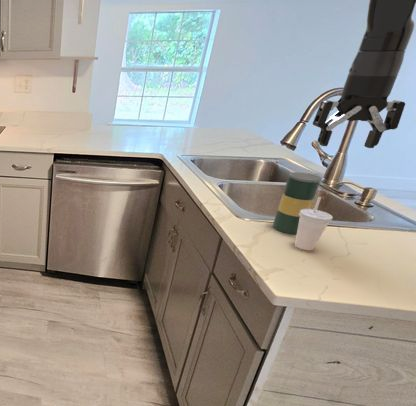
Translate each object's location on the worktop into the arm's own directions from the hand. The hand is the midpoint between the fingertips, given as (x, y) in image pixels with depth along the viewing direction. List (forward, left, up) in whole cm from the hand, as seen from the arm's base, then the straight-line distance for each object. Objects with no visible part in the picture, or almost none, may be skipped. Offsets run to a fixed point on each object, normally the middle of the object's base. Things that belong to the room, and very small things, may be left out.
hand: (345, 146), depth 85 cm
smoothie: (+1, 0, -27) cm, 27 cm away
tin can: (+8, -7, -27) cm, 29 cm away
